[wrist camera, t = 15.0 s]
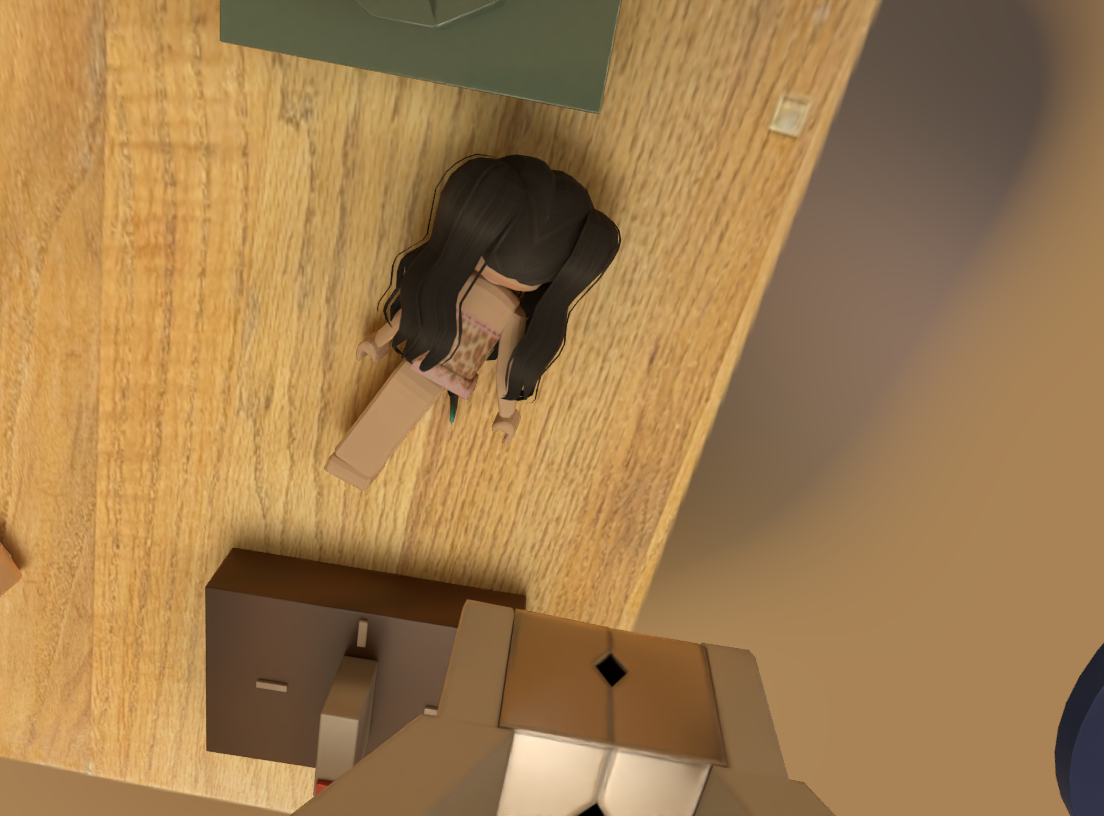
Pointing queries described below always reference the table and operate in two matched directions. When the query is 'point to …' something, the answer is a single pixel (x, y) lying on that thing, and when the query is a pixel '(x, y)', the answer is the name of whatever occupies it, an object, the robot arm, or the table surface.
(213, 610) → the dial panel
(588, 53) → the green push button box
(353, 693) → the dial
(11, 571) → the tablet stand
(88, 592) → the table surface
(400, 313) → the toy figure
